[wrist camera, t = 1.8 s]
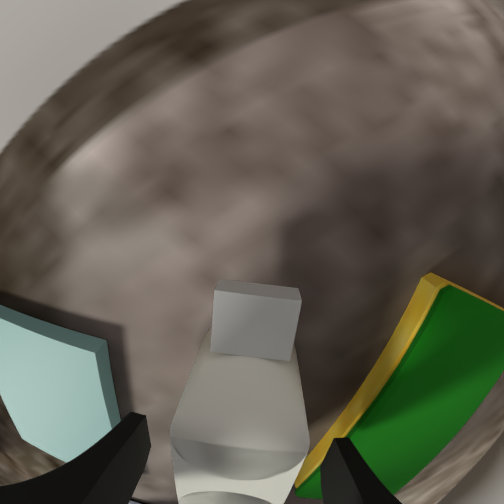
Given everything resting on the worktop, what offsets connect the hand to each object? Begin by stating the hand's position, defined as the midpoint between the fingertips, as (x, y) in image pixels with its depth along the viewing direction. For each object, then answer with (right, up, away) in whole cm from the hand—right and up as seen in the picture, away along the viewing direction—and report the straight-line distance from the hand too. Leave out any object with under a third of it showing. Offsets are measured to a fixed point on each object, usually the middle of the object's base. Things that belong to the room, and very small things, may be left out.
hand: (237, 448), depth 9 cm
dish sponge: (+9, -1, +4) cm, 9 cm away
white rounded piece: (0, +1, +3) cm, 3 cm away
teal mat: (-12, -2, +4) cm, 13 cm away
